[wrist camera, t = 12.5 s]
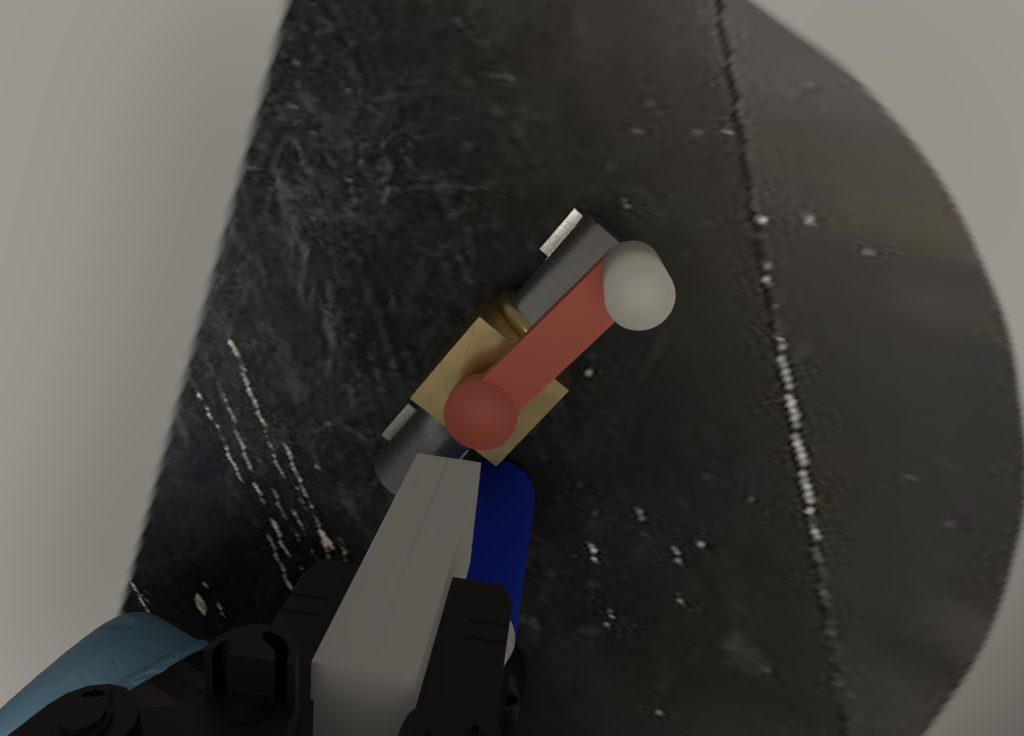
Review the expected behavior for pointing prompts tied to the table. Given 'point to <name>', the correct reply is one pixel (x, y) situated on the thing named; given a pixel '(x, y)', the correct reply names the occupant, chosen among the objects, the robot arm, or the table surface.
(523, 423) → the valve
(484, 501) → the beverage can
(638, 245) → the lever
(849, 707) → the table surface
